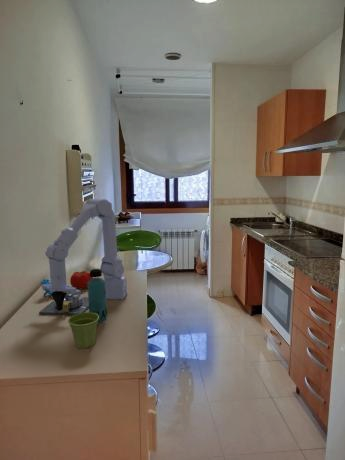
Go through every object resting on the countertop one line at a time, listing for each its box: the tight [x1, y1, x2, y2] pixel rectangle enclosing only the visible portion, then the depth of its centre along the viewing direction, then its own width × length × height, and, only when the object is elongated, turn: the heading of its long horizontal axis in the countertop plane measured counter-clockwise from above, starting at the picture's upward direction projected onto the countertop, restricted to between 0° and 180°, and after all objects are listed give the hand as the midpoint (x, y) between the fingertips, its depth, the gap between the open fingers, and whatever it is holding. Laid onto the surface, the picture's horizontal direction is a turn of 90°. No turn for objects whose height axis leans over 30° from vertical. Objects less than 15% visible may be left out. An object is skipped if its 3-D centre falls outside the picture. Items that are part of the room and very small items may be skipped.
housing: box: [64, 293, 76, 301], centre depth 136 cm, size 6×6×5 cm
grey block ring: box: [53, 289, 84, 313], centre depth 134 cm, size 11×14×4 cm
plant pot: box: [67, 311, 99, 349], centre depth 104 cm, size 9×9×9 cm
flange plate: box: [38, 296, 89, 317], centre depth 136 cm, size 17×17×1 cm
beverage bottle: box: [87, 268, 108, 324], centre depth 118 cm, size 6×7×20 cm
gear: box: [40, 278, 53, 296], centre depth 150 cm, size 11×6×10 cm
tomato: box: [69, 270, 94, 290], centre depth 160 cm, size 11×11×8 cm
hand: (60, 309), depth 128 cm, fingers closed, pressing on grey block ring
